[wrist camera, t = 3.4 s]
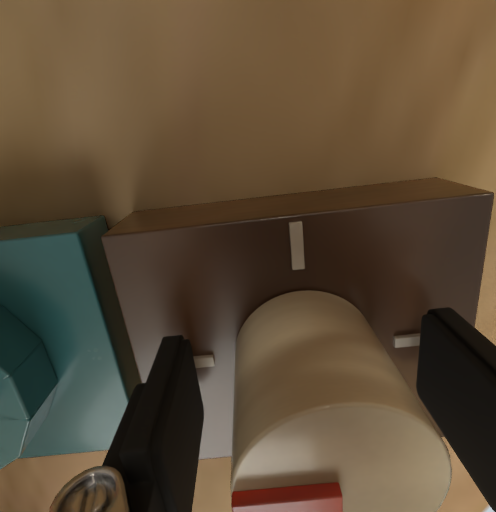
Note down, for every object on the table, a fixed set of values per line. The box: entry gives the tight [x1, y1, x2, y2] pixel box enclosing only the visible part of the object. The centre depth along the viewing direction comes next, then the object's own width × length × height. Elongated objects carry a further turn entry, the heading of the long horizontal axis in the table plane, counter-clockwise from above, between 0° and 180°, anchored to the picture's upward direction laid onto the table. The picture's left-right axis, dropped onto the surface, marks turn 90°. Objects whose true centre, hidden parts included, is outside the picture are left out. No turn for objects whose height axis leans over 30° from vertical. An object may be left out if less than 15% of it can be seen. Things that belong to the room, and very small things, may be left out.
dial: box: [231, 290, 452, 512], centre depth 9 cm, size 4×4×5 cm
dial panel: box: [101, 177, 494, 460], centre depth 12 cm, size 11×9×3 cm
